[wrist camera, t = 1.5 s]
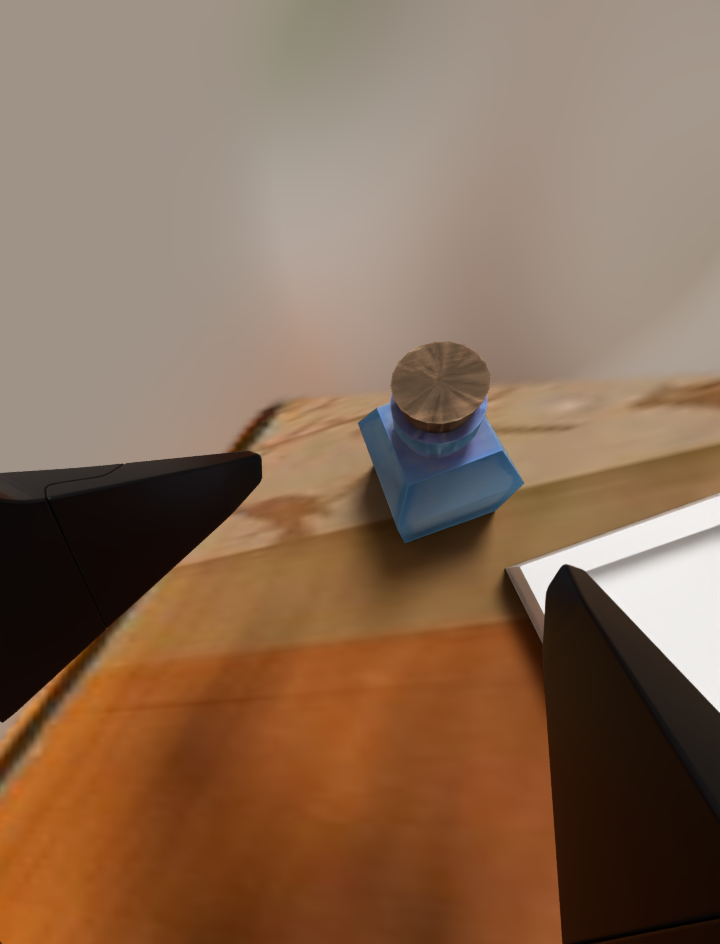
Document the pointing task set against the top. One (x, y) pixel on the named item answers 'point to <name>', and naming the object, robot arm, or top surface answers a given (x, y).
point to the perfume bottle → (438, 442)
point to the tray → (651, 584)
